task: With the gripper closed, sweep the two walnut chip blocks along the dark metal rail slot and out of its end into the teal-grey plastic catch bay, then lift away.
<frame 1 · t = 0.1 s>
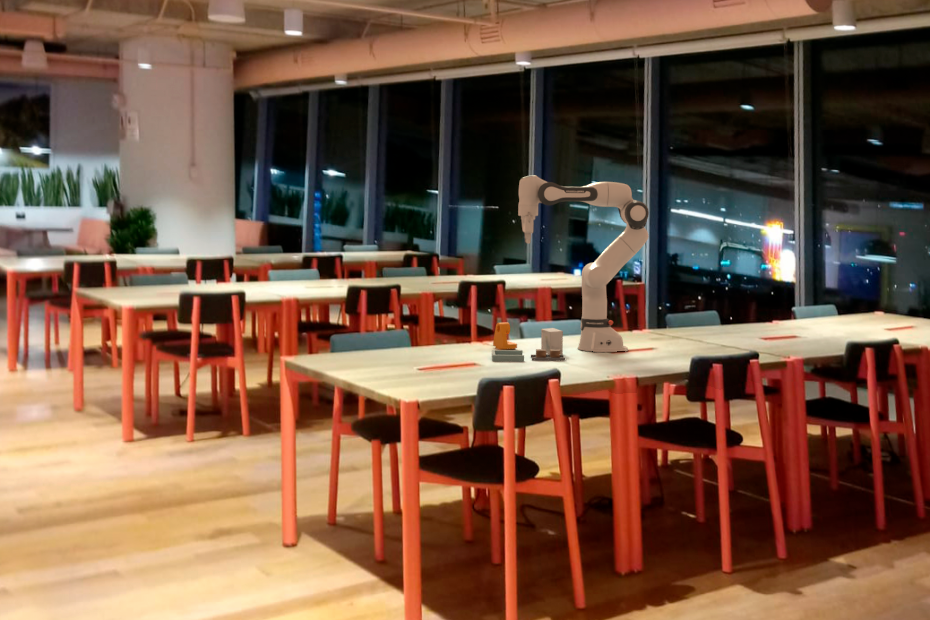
hand: (527, 242, 459), 48 cm above the table, fingers open, 8 cm apart
slot rails: (547, 358, 435), on the table
chip front: (540, 359, 435), on the table
skincare box: (551, 353, 452), on the table
catch bay: (509, 358, 435), on the table
bracket: (505, 349, 464), on the table
chip rear: (554, 359, 435), on the table
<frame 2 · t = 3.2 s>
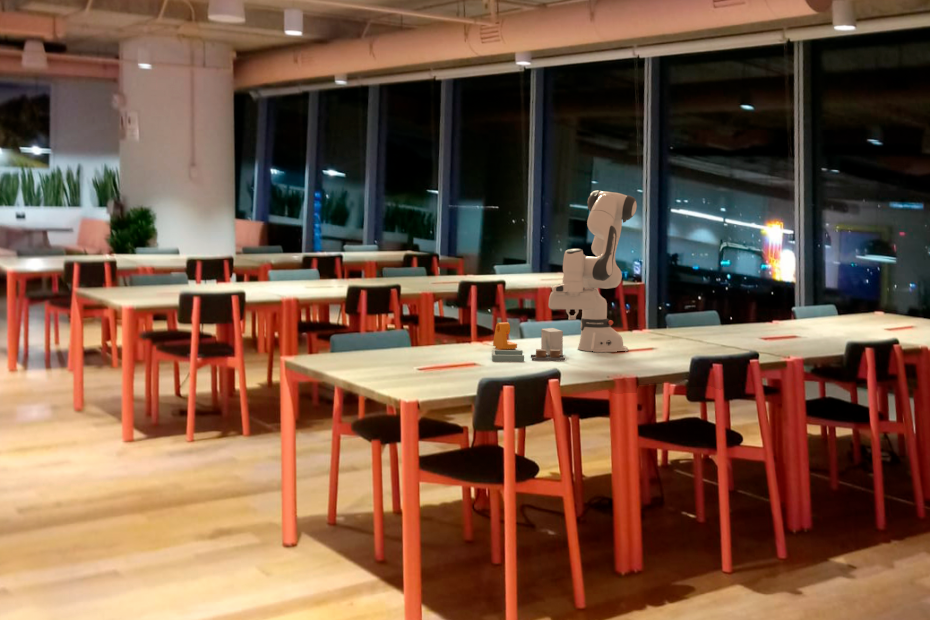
hand: (572, 319, 433), 17 cm above the table, fingers closed
nothing on the table moved.
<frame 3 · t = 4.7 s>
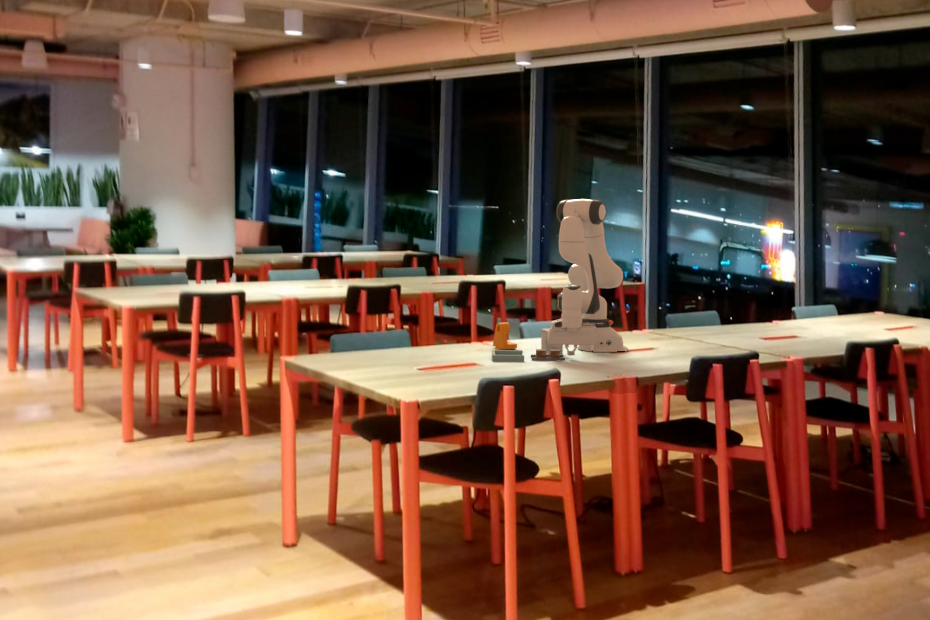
hand: (570, 355, 435), 2 cm above the table, fingers closed
nothing on the table moved.
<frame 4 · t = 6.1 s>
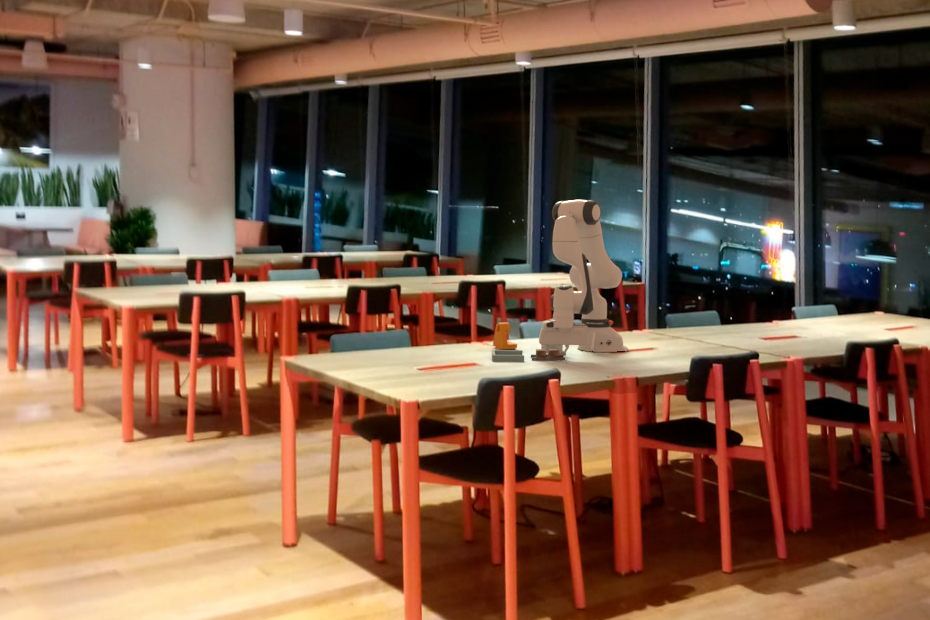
hand: (562, 355, 435), 2 cm above the table, fingers closed
chip rear: (553, 359, 435), on the table, touching gripper
everything else where it was.
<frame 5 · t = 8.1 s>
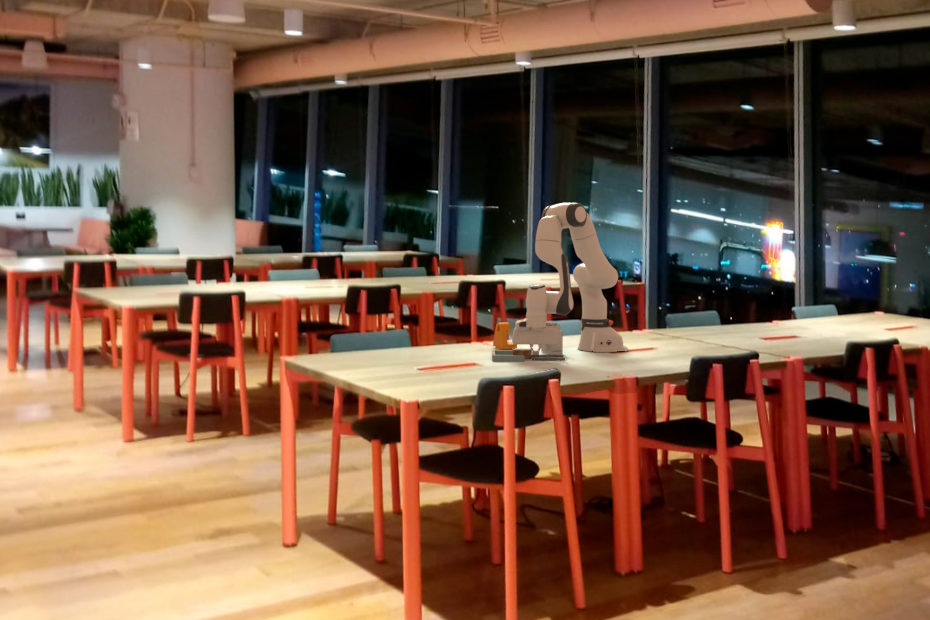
hand: (535, 354, 435), 2 cm above the table, fingers closed
chip front: (517, 358, 435), on the table, touching chip rear
chip rear: (526, 358, 435), on the table, touching chip front, gripper
everything else where it was.
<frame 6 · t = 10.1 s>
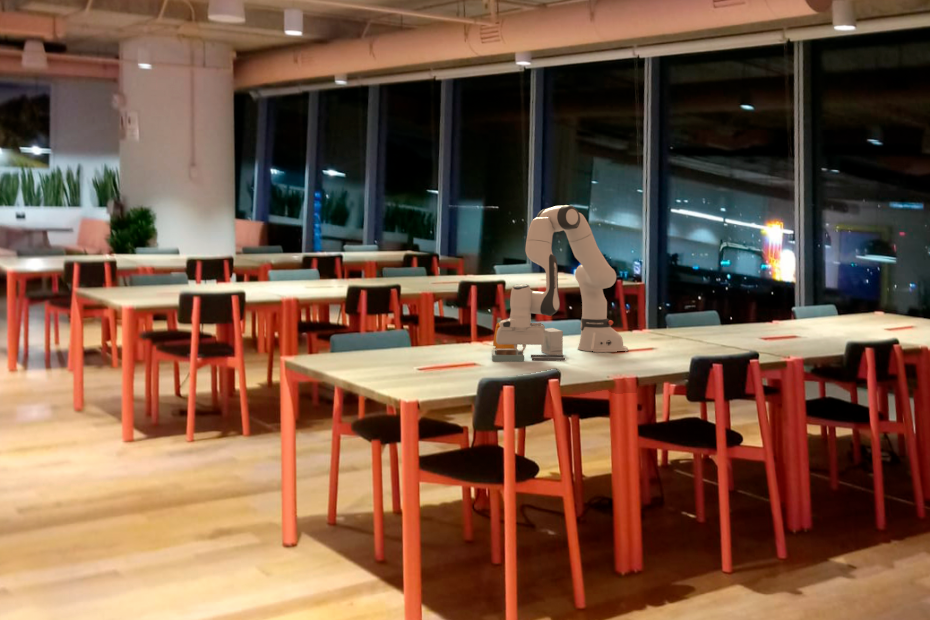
hand: (519, 354, 435), 2 cm above the table, fingers closed
chip front: (501, 358, 435), on the table, touching chip rear
chip rear: (510, 358, 435), on the table, touching chip front, gripper
everything else where it was.
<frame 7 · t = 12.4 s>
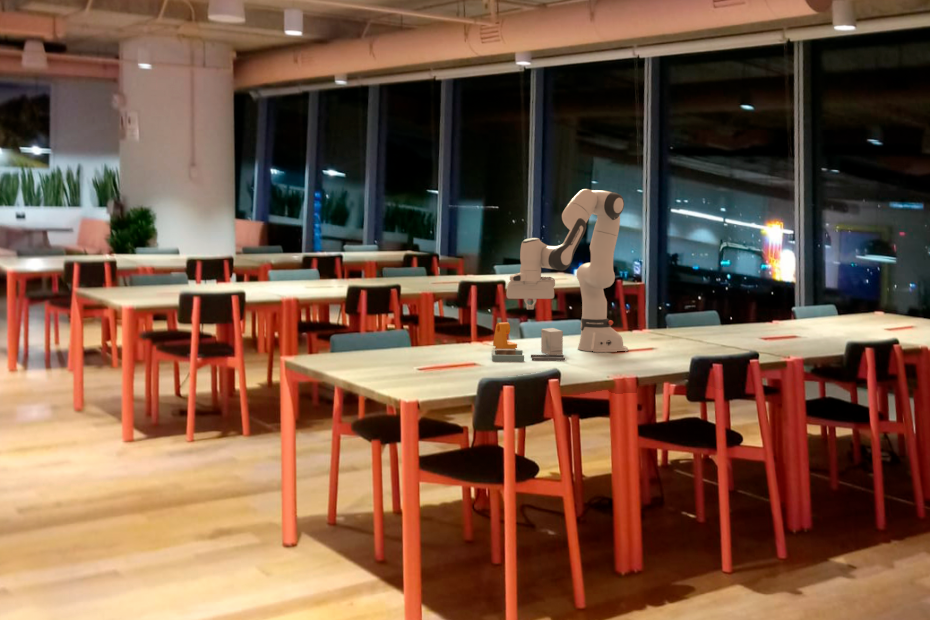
hand: (530, 309, 433), 21 cm above the table, fingers closed
chip front: (501, 358, 435), on the table
chip rear: (510, 358, 435), on the table
everything else where it was.
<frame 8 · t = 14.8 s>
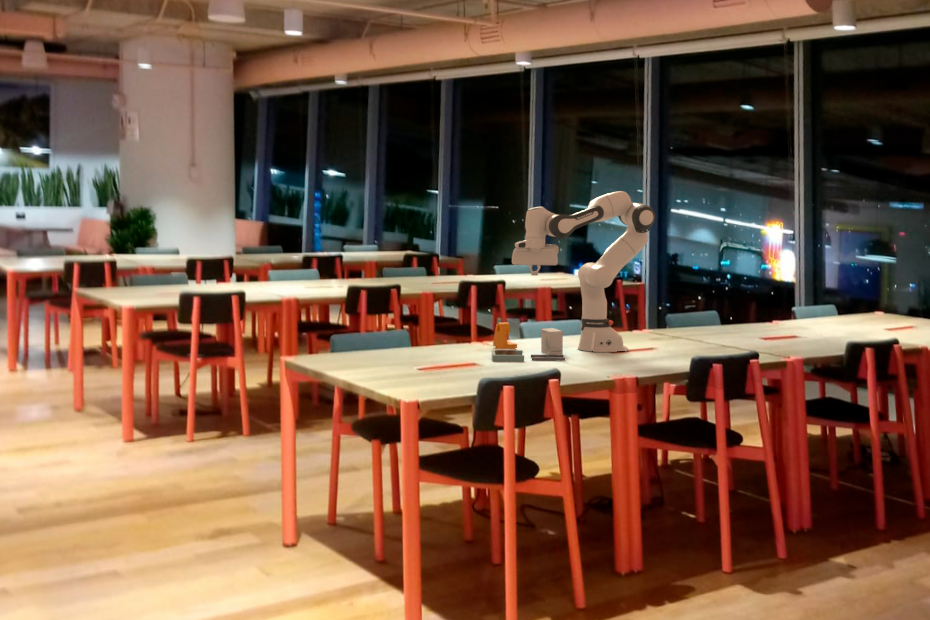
hand: (534, 275, 450), 34 cm above the table, fingers closed
nothing on the table moved.
at the end: chip front inside the target area (3.2 cm from its centre), on the table; chip rear inside the target area (1.0 cm from its centre), on the table; the gripper is holding nothing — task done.
